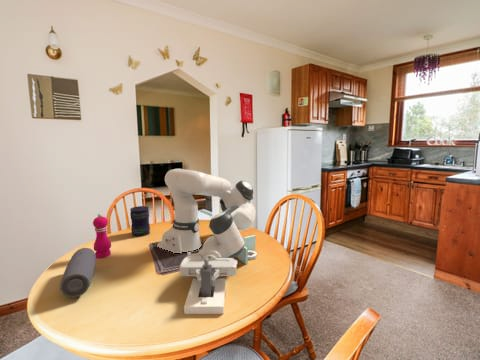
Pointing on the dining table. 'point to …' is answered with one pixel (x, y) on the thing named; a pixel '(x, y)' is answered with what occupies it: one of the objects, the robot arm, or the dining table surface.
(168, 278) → the dining table surface
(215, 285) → the socket plate
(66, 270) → the bluetooth speaker
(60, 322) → the dining table surface
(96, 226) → the pepper mill
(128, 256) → the dining table surface
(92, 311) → the dining table surface
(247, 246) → the right angle wall
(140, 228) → the storage jar
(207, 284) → the grey bottle
